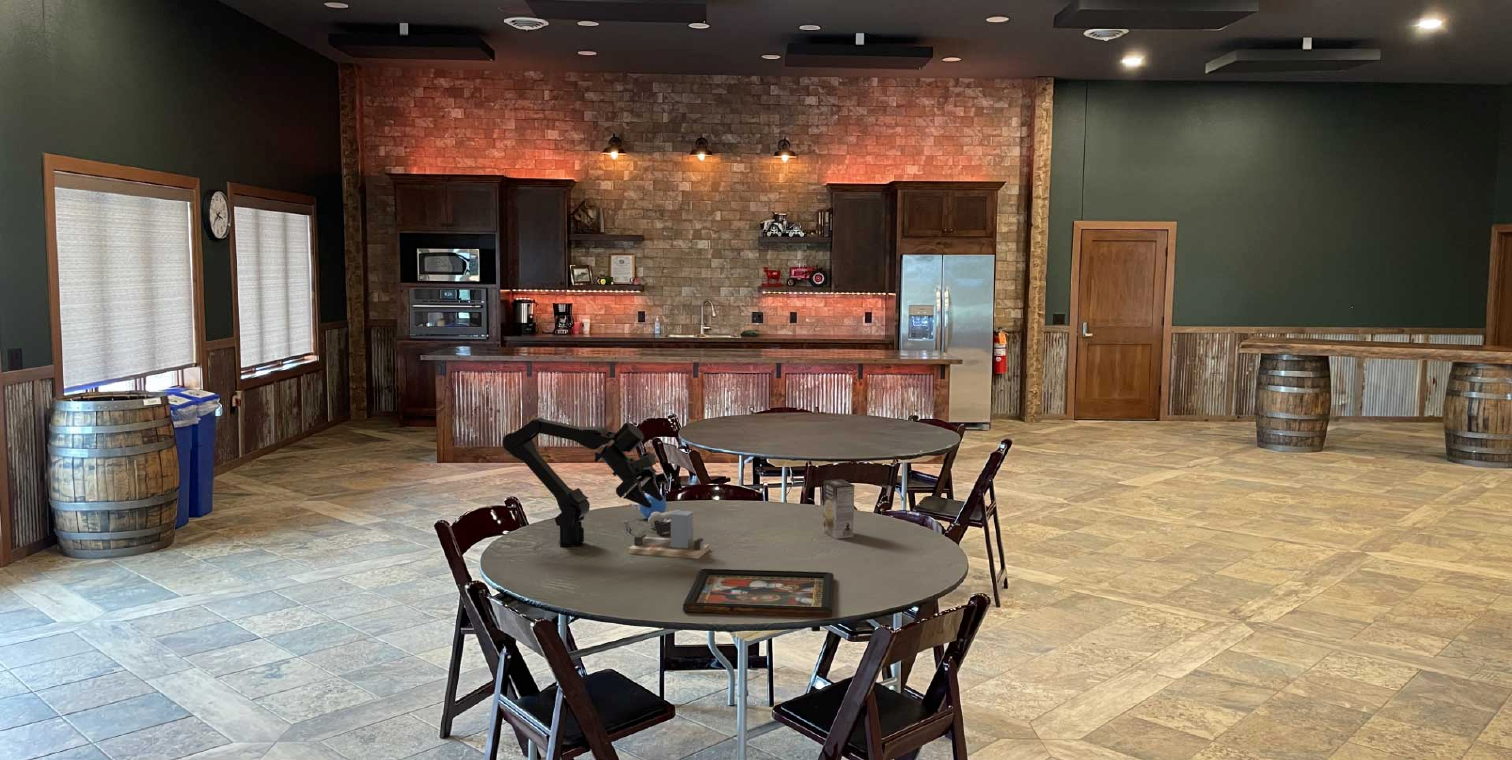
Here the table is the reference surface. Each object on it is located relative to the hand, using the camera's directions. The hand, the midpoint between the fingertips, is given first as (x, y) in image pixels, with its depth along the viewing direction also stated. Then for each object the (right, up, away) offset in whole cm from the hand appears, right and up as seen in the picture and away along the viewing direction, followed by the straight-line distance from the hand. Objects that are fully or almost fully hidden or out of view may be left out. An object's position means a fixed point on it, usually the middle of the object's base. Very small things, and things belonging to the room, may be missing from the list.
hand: (656, 503), depth 299 cm
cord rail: (+4, -14, 0) cm, 14 cm away
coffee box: (+53, -12, +20) cm, 58 cm away
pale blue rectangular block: (+7, -12, -1) cm, 14 cm away
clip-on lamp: (-3, -11, +24) cm, 27 cm away
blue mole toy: (-7, -10, +40) cm, 42 cm away
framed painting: (+30, -19, -39) cm, 52 cm away
